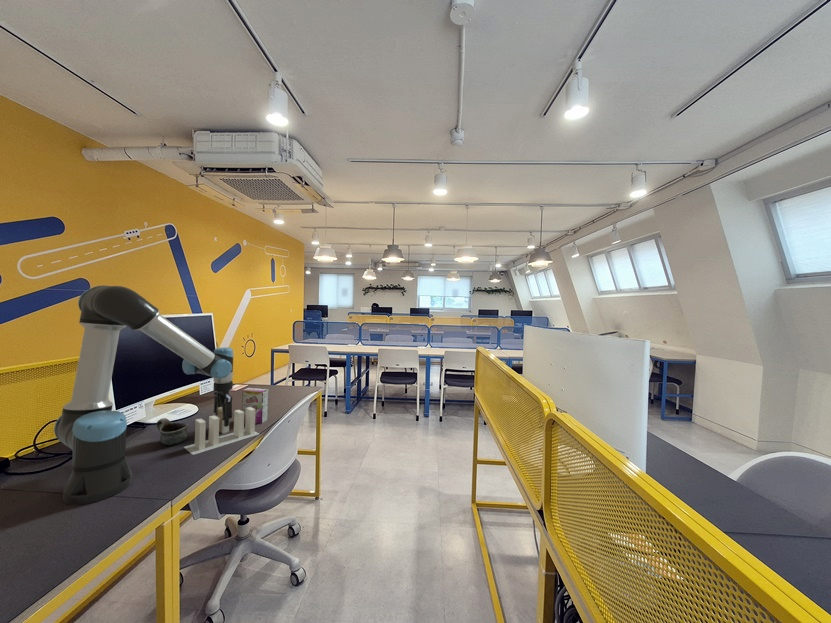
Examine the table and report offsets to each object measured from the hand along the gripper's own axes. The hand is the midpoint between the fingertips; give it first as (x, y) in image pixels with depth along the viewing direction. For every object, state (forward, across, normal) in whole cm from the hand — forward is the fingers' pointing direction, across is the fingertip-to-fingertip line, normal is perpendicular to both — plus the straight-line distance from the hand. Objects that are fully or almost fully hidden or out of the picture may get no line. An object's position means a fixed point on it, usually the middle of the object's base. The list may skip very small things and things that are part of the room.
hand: (222, 430), depth 142 cm
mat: (0, -11, +4) cm, 12 cm away
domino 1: (0, -11, +13) cm, 17 cm away
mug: (0, +3, +19) cm, 19 cm away
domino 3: (0, -11, -2) cm, 11 cm away
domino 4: (0, -11, -7) cm, 13 cm away
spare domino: (0, 0, 0) cm, 0 cm away
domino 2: (0, -11, +8) cm, 13 cm away
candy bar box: (+1, +1, -15) cm, 15 cm away
